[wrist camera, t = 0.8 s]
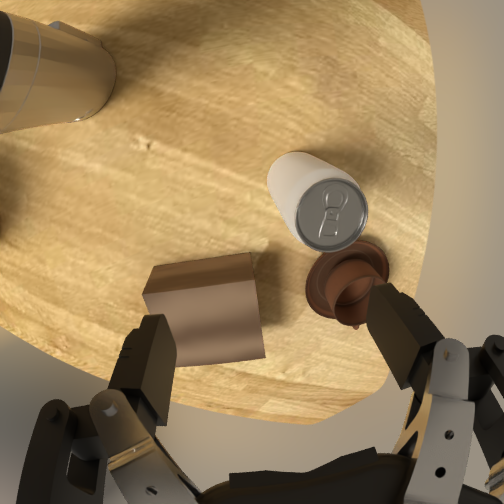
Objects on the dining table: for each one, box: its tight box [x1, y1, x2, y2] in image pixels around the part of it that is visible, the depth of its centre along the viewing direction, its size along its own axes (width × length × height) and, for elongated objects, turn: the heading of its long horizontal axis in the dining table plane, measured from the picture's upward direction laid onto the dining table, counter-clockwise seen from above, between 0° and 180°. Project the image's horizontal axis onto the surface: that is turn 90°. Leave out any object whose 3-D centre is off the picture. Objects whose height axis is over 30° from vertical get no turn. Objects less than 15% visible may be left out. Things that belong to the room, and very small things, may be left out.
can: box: [267, 152, 368, 252], centre depth 24 cm, size 6×6×12 cm
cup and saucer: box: [305, 240, 389, 330], centre depth 33 cm, size 12×12×6 cm
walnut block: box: [142, 252, 266, 367], centre depth 33 cm, size 12×12×6 cm
